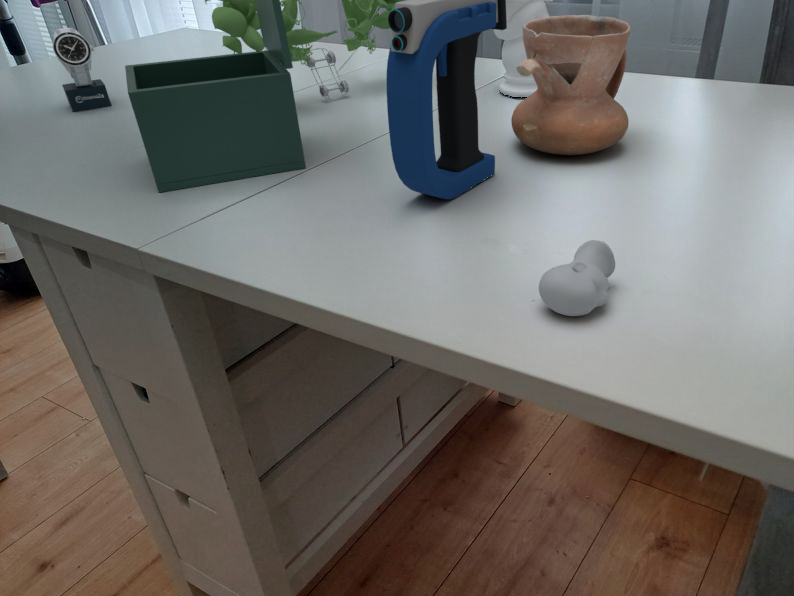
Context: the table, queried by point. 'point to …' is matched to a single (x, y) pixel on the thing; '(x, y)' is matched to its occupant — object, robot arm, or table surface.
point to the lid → (274, 30)
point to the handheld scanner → (438, 92)
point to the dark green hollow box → (215, 118)
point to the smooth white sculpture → (579, 281)
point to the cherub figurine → (518, 45)
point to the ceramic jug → (573, 84)
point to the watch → (79, 71)
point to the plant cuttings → (301, 30)
